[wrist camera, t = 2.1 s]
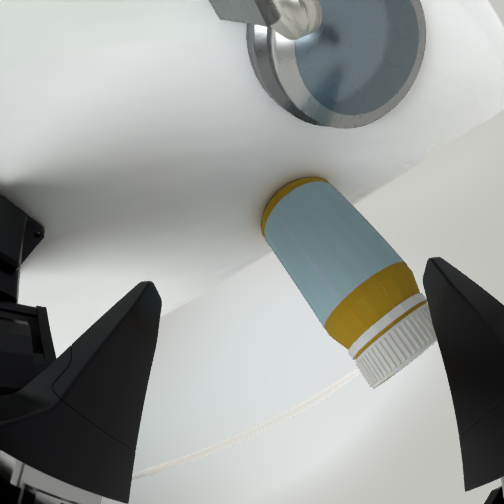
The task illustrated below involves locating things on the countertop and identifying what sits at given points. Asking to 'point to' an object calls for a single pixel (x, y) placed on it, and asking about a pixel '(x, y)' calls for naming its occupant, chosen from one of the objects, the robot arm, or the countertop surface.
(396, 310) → the bottle
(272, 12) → the turntable base
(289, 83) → the platter
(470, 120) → the countertop surface
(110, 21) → the countertop surface
